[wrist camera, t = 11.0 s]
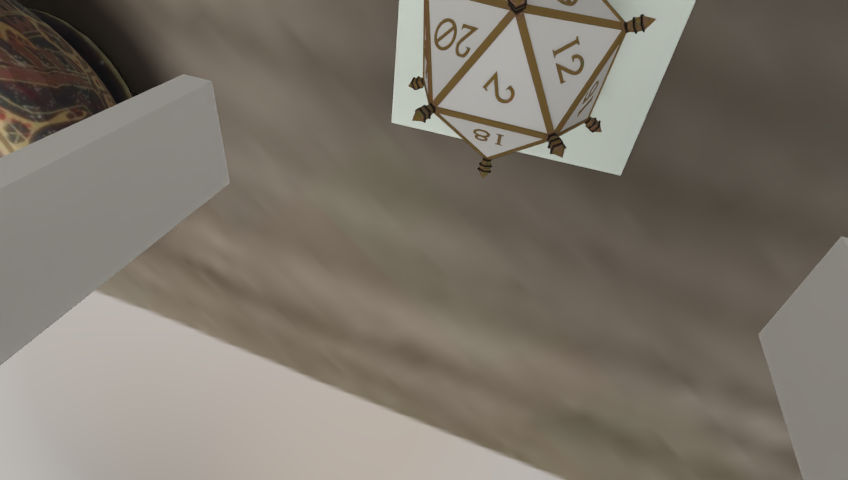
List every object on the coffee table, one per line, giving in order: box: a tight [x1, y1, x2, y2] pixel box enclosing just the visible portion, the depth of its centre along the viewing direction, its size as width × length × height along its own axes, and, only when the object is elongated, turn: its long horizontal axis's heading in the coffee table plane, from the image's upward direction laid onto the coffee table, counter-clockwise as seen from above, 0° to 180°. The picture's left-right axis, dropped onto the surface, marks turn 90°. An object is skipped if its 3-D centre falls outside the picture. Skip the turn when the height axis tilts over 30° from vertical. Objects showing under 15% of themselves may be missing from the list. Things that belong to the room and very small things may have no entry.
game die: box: [408, 0, 656, 178], centre depth 18 cm, size 9×8×10 cm
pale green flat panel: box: [392, 0, 696, 176], centre depth 21 cm, size 12×12×1 cm
